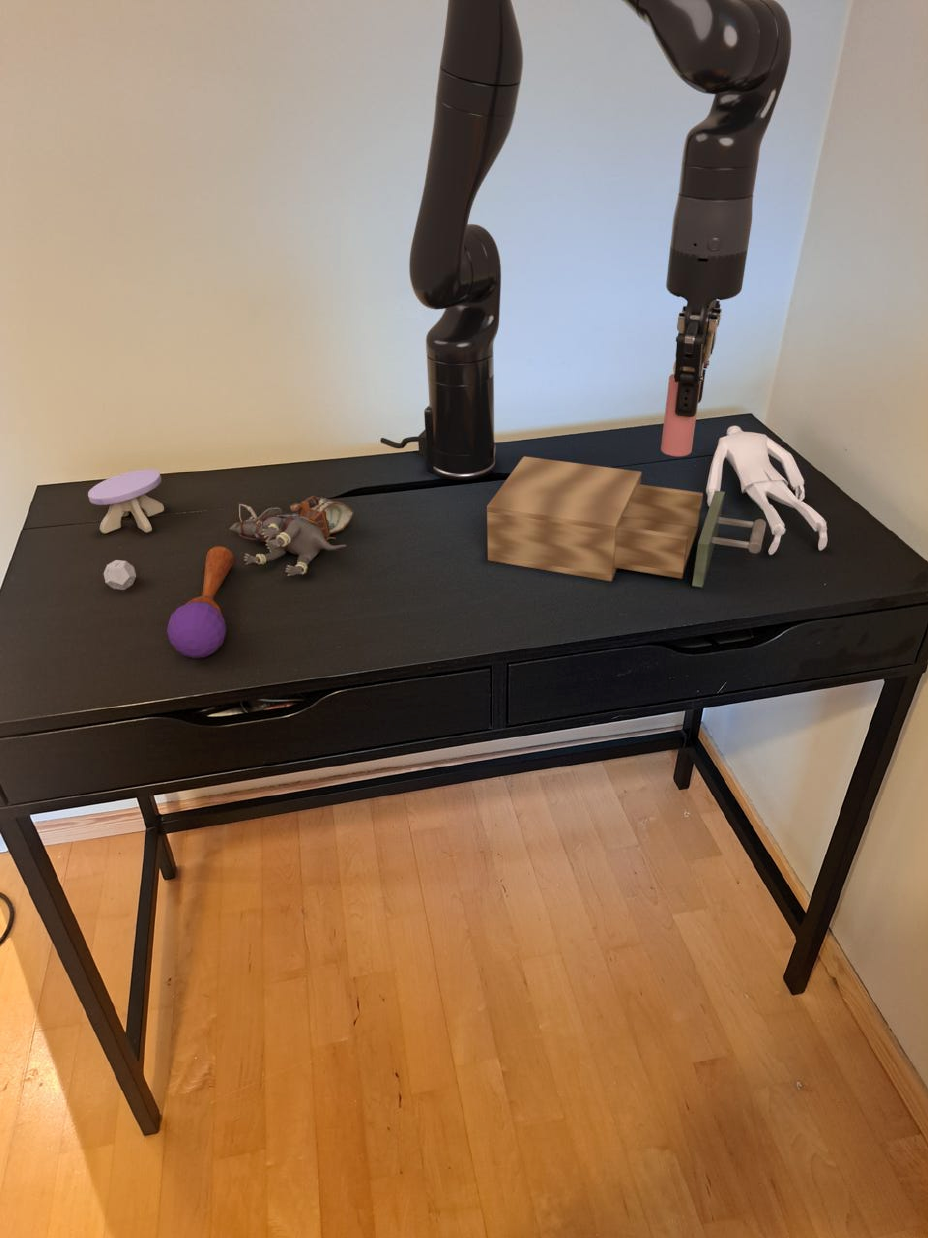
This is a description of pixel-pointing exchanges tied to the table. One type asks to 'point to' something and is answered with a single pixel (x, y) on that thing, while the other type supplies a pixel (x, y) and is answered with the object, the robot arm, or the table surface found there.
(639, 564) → the drawer
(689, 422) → the pink game pawn
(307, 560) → the figurine
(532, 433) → the table surface
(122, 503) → the toy table
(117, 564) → the game die
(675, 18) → the robot arm
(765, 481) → the male figurine
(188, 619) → the purple maraca
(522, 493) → the cabinet
